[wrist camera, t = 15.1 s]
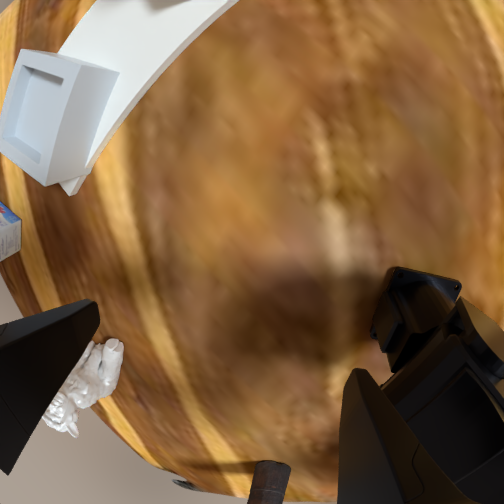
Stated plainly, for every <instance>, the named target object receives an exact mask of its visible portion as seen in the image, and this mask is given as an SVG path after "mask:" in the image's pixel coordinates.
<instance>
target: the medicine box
mask: <svg viewBox="0 0 504 504" xmlns="http://www.w3.org/2000/svg"><path fill="white" fill-rule="evenodd" d="M21 221H22V220H21V219H20V218H19V217H18V216H17V215H15V214H14V213H13V212H12V211H11V210H10V209H8V208H7V207H6V206H5V205H4V204H2V203H1V202H0V262H1V261H2V260H4V259H5V258H7V257H9V256H11V255H12V254H14V253H16V252H18V251H19V250H21Z"/></svg>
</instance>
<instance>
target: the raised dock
mask: <svg viewBox="0 0 504 504" xmlns="http://www.w3.org/2000/svg"><path fill="white" fill-rule="evenodd" d="M119 74H120V72H117V71H114V70H111V69H108V68H105V67H102V66H99V65H96V64H93V63H89V62H86V61H83V60H79V59H76V58H72V57H69V56H65V55H61V54H58V53H51V52H44V51H37V50H28V49H21V51H20V53H19V56H18V59H17V62H16V64H15V67H14V70H13V73H12V76H11V79H10V83H9V86H8V89H7V93H6V96H5V100H4V104H3V108H2V112H1V116H0V152H1V153H2V154H3V155H5V156H6V157H7V158H8V159H10V160H11V161H12V162H14V163H15V164H16V165H17V166H19V167H20V168H21V169H22V170H24V171H25V172H26V173H28V174H29V175H30V176H32V177H33V178H34V179H36V180H37V181H38V182H40V183H41V184H42V185H44V186H45V187H46V186H49V185H52V184H55V183H59V182H62V181H65V180H69V179H72V178H76V177H79V176H83V175H86V174H90V173H91V170H92V167H90V168H86V169H85V167H86V163H87V160H88V156H89V153H90V150H91V147H92V144H93V141H94V138H95V135H96V132H97V129H98V126H99V123H100V121H101V118H102V115H103V113H104V110H105V107H106V105H107V102H108V100H109V97H110V95H111V93H112V90H113V88H114V85H115V83H116V81H117V79H118V76H119Z"/></svg>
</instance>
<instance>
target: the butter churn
mask: <svg viewBox="0 0 504 504" xmlns="http://www.w3.org/2000/svg"><path fill="white" fill-rule="evenodd" d="M290 472H291V468H290V467H289V466H287V465H285V464H280V463H276V462H273V461H265V462H259V463H257V464H256V466H255V471H254V475H253V480H252V485H251V489H250V494H249V499H248V502H247V504H282V502H283V499H284V495H285V490H286V488H287V484H288V480H289V476H290Z"/></svg>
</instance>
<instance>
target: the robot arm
mask: <svg viewBox="0 0 504 504" xmlns="http://www.w3.org/2000/svg"><path fill="white" fill-rule="evenodd" d="M400 272H402V275H401V276H398V274H399V273H400ZM456 285H457V287H456V288H454V287H455V286H456ZM461 288H462V285H461V283H460V282H459V281H458V280H455V279H450V278H446V277H442V276H438V275H433V274H429V273H425V272H421V271H416V270H412V269H408V268H403V267H398V268H396V269H395V270H394V272H393V275H392V278H391V280H390V283H389V286H388V288H387V291H385V292H384V293H383V294H382V297H381V299H380V302H379V304H378V307H377V309H376V312H375V314H374V316H373V322H374V323H373V325H372V327H371V330H370V336H371V338H372V339H377V340H378V341H379V345H380V349H381V351H382V353H386V354H387V358H388V362H389V366H390V370H391V372H392V373H395V374H394V375H392V376H391V377H390V378H389V379H388V380H387V381H386V382H385V383H384V384H381V385H380V386H378V384H377V383H376V382H375V380H374V379H373V378H372V376H371V375H370V374H369V372H368V371H367V370H366V369H361V368H354V369H353V370H352V372H351V374H350V376H349V378H348V380H347V382H346V383H345V386H344V390H343V399H342V409H341V418H340V427H339V474H338V497H337V504H504V332H503V330H502V329H501V328H500V327H499V325H498V324H497V323H496V322H495V321H493V320H492V319H491V318H490V317H488V316H487V315H486V314H484V313H483V312H482V311H480V310H479V309H478V308H476V307H475V306H474V305H472V304H471V303H469V302H468V301H467V300H465V299H464V298H463V297H461V296H460V297H459V299H458V300H457V301H456V299H457V297H458V295H459V293H460V290H461ZM455 301H456V303H455ZM99 325H100V315H99V309H98V304H97V302H95V301H93V300H90V299H84V300H81V301H77V302H74V303H71V304H68V305H64V306H61V307H58V308H54V309H51V310H48V311H45V312H41V313H38V314H35V315H32V316H28V317H25V318H22V319H19V320H15V321H12V322H9V323H5V324H2V325H0V469H1V470H2V471H3V472H4V473H6V474H7V475H9V474H10V472H11V471H12V469H13V467H14V465H15V463H16V461H17V459H18V458H19V456H20V454H21V452H22V450H23V449H24V447H25V445H26V443H27V441H28V440H29V438H30V436H31V434H32V433H33V431H34V429H35V428H36V426H37V424H38V422H39V421H40V419H41V418H42V416H43V415H44V413H45V411H46V410H47V408H48V407H49V405H50V403H51V402H52V400H53V399H54V397H55V396H56V394H57V392H58V391H59V389H60V388H61V386H62V385H63V383H64V382H65V380H66V379H67V377H68V376H69V374H70V373H71V371H72V370H73V369H74V367H75V366H76V364H77V363H78V361H79V360H80V358H81V357H82V355H83V353H84V352H85V350H86V348H87V346H88V345H89V343H90V341H91V339H92V337H93V336H94V334H95V332H96V330H97V329H98V327H99ZM375 332H376V334H374V333H375Z"/></svg>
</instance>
